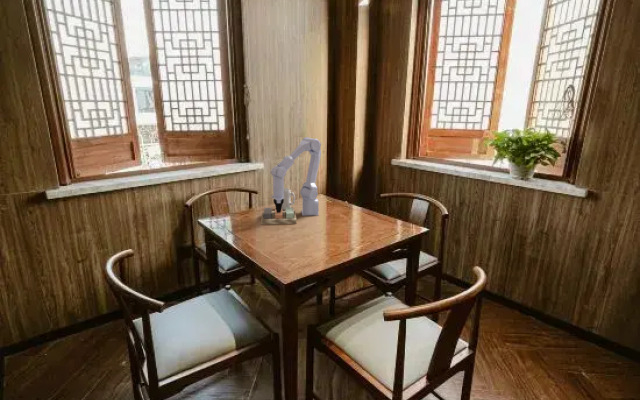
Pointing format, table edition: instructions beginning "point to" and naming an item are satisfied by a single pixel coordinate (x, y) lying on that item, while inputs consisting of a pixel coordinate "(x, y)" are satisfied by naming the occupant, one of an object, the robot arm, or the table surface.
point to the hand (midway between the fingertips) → (278, 212)
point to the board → (278, 221)
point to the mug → (287, 198)
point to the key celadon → (289, 213)
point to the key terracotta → (278, 215)
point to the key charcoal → (267, 213)
